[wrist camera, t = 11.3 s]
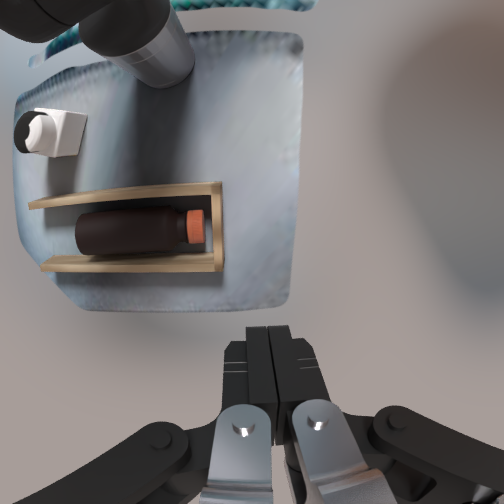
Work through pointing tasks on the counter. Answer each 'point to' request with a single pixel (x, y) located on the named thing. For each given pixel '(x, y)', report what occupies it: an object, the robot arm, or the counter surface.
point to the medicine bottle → (50, 132)
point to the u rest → (150, 260)
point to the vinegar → (138, 230)
